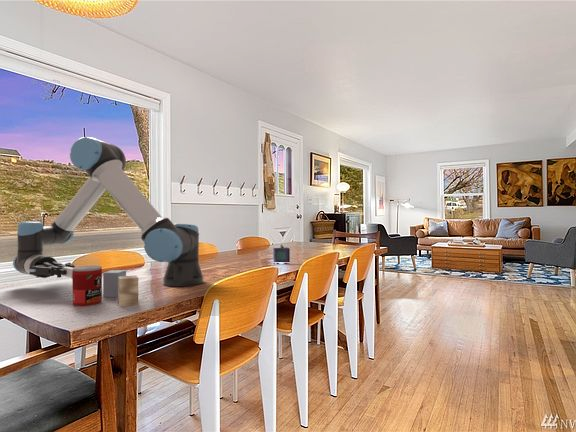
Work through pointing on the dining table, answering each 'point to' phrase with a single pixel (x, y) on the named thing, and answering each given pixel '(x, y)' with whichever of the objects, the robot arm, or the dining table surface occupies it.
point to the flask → (281, 254)
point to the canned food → (87, 285)
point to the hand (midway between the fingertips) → (74, 273)
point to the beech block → (127, 290)
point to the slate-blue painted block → (111, 282)
